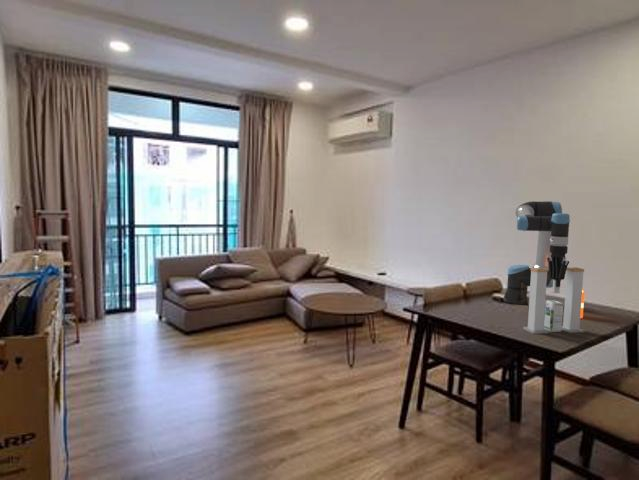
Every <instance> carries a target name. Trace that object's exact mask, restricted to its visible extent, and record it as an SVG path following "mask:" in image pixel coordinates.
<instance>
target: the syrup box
mask: <svg viewBox="0 0 639 480" xmlns="http://www.w3.org/2000/svg"><path fill="white" fill-rule="evenodd" d="M563 315H564V303H563V302H560V301H557V300H554V299H553V300H552V299H551V300H550V299H549V300H548V299H547V300H545V315H544V329H545V330H547V331H548V332H550V333H552V332H553V333H557V332H562V329H561V327H562V326H563Z"/></svg>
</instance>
